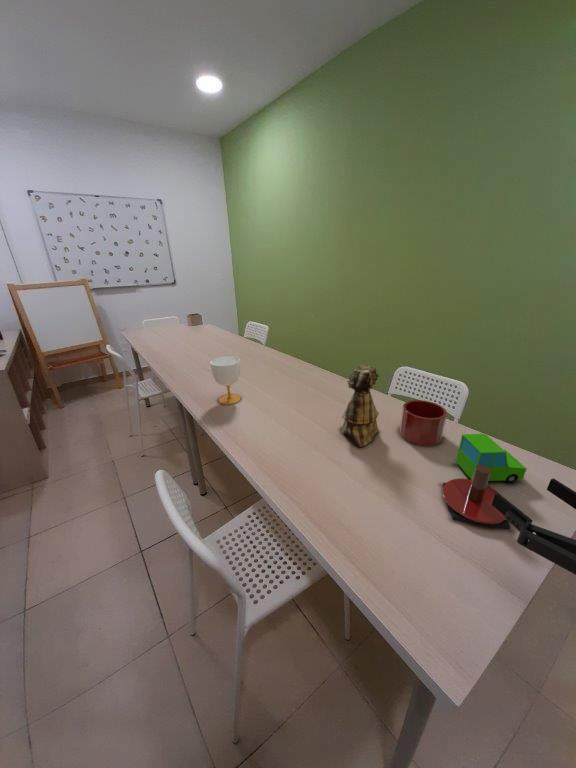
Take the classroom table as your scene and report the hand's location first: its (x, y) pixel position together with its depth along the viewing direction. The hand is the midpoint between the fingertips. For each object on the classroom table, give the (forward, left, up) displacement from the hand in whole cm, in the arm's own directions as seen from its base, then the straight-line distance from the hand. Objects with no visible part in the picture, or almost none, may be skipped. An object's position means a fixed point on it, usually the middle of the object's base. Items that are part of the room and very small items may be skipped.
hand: (523, 491), depth 58 cm
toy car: (-3, -20, -12) cm, 24 cm away
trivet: (+4, -7, -12) cm, 15 cm away
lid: (+4, -7, -11) cm, 14 cm away
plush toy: (+32, -32, -12) cm, 47 cm away
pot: (+12, -36, -12) cm, 40 cm away
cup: (+85, -47, -12) cm, 98 cm away
